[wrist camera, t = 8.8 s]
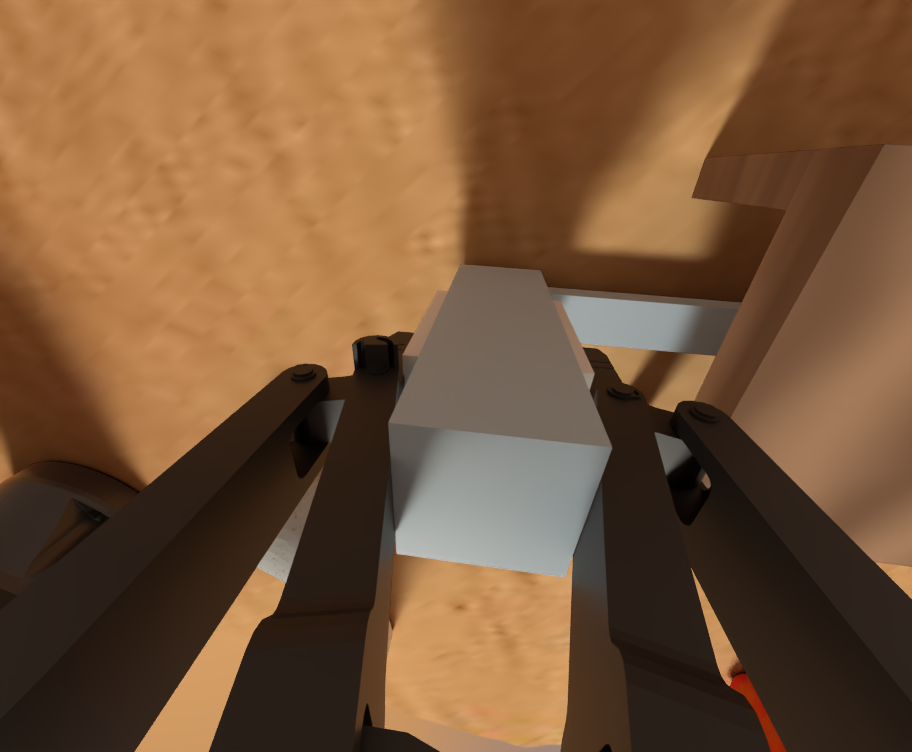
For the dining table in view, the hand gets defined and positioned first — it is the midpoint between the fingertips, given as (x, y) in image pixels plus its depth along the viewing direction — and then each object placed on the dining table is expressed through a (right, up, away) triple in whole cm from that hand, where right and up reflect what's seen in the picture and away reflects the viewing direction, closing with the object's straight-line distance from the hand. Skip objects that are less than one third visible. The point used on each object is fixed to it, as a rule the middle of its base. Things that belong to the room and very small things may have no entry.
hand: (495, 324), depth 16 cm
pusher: (+11, 0, +2) cm, 11 cm away
